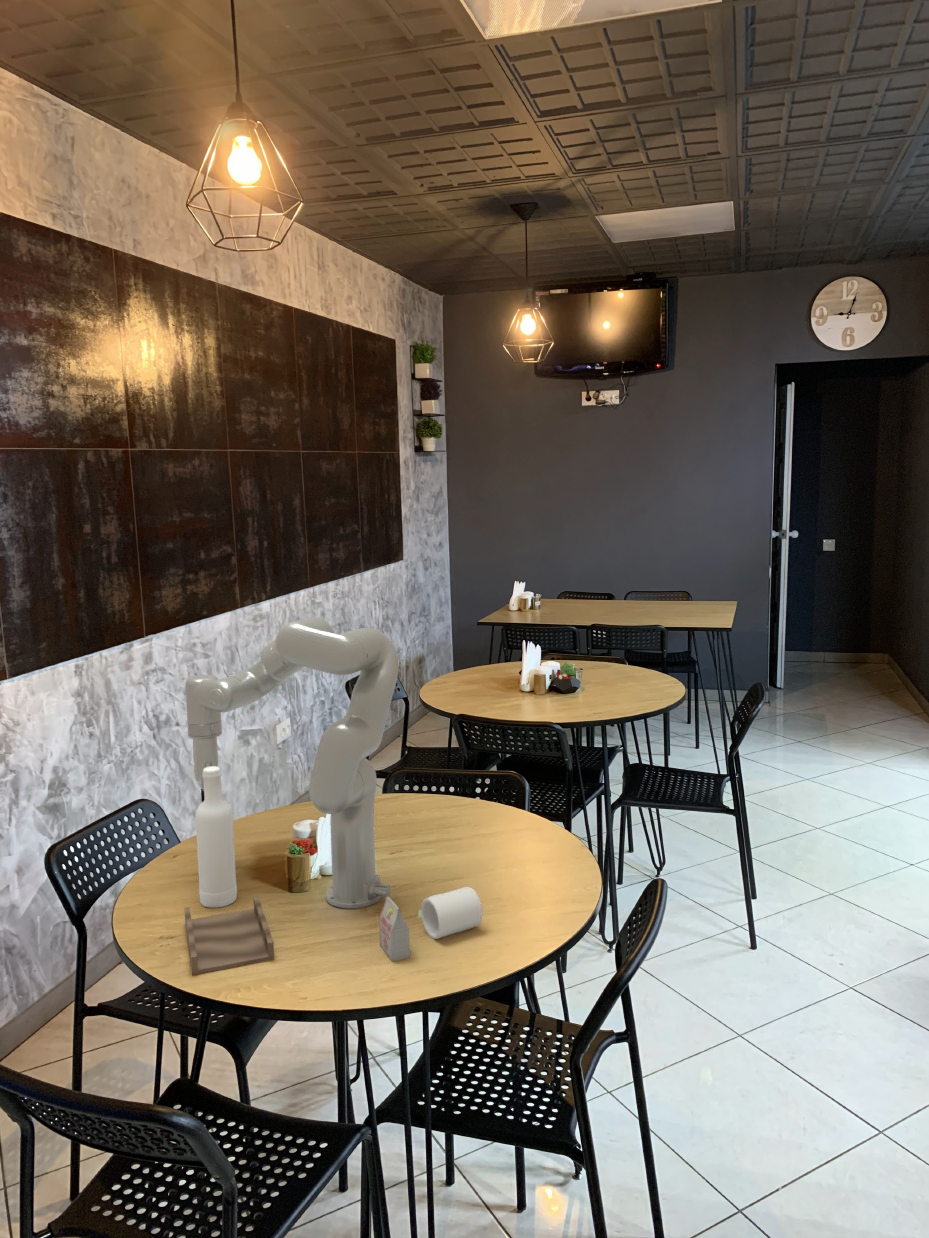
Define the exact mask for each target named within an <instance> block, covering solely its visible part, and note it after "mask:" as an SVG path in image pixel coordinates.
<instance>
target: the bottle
mask: <svg viewBox="0 0 929 1238" xmlns="http://www.w3.org/2000/svg"><path fill="white" fill-rule="evenodd" d="M203 779H204V798H205V800H204V801H203V802H202V801H201V803H200V804H199V805H198V807H197V810H196V814H195V829H196V831H195V833H196V848H197V868H198V881H199V882H198V885H199V887H198V893H199V894H198V895H199V902H200V904H201V905H202V906H203V907H206V908H210V909H211V908H212V909H215V908H216V909H217V908H223V907H226V906H229V905H232V904H233V903H234V902H235V901H236V900H237V897H238V895H237V894H238V893H237V892H238V887H237V877H236V874H237V873H236V871H237V870H236V859H235V858H236V857H235V856H236V855H235V854H236V853H235V836H234V835H235V834H234V817H233V810H232V808H231V806H230V804H229V802H227V800H225V799H224V798H223V794H222V772H221V768H220V766H218V767H217V766H210V767H206V768H204V770H203Z"/></svg>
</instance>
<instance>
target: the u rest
mask: <svg viewBox="0 0 929 1238" xmlns="http://www.w3.org/2000/svg"><path fill="white" fill-rule="evenodd" d="M252 899H253V900H252V901H253V908H249V909H244V910H242V909H241V910H237V911H233V912H232V911H231V912H225V913H220V914H215V915H214V914H212V915H208V916H202V917H196V918H192V915H191V908H190V907H184V922H185V930H186V937H187V945H188V953H189V960H190V967H191V975H192V976H195V975H200V974H206V973H212V972H217V971H221V970H227V969H231V968H238V967H243V966H248V965H254V964H258V963H264V962H267V961H275V947H274V946H275V945H274V944H275V942H274V940H273V937H272V934H271V930H270V927H269V925H268V922H267V919H266V916H265V912H264V909H263V906H262V904H261V901H260V898H259V895H254V896H252Z"/></svg>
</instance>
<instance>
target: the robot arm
mask: <svg viewBox="0 0 929 1238" xmlns="http://www.w3.org/2000/svg"><path fill="white" fill-rule="evenodd" d="M259 657H260V660H259V661H257V662H255V664H253V665H251V666H250V667H248V668H246V669H245V670H244V671H241V672H239V673H235V674H232V675H229V676H226V677H223V678H218V676H215V675H213V674H197V675H192V676H190V677H188V678H187V679H186V681H185V683H184V685H185V686H184V687H185V704H186V705H185V706H186V721H187V722H186V723H187V734H188V735H187V738H189V739H192V756H193V757H192V758H193V774H194V777H195V781H197V782H199V781H200V783H201V788H200V794H201V795H200V796H201V798H200V799H201V803H202V802H203V801H204V800H205V798H204V779H203V770H204V768H206V767H210V766H217V767H219V753H218V752H219V751H218V750H219V749H218V737H219V736H221V735H222V734H223V726H222V713H228V712H231V711H234V710H237V709H240V708H242V707H244V706H247V705H250V704H253V703H255V702H257V701H259V700H260V699H262V698H263V697H264V696H267V695H268V694H269V693H270V692H273V690H275V689H277V688H278V687H279V686H280V685H282V684H283V683H284V682H285V681H287V679H288V678H290V677H291V676H292V675H294V674H296V673H297V672H299V671H300V670H301V669H303V668H308V669H311V670H314V671H315V670H316V671H319V672H323V673H326V674H331V675H336V676H349V675H352V674H355V673H357V672H360V673H359V676H358V678H357V680H356V683H355V684H354V687H353V690H352V692H351V696H350V701H349V705H348V707H347V712H346V714H345V715H344V716H343V717H342V718H341V719H339V720H336V721H334V722H333V723H331V724H330V725H329V726H328V727H327V728H326V729H325V730H324V732H323V734H322V736H321V738H320V740H319V743H318V747H317V752H316V754H315V755H316V756H315V759H314V763H313V767H312V772H311V776H310V780H309V781H310V782H309V785H308V786H309V787H308V788H309V789H308V790H309V797H310V801H311V803H312V804H313V806H314V807H315V809H317V810H318V811H319V812H321V813H323V814H326V815H330V824H329V825H330V848H331V849H330V853H331V877H332V881H331V882H332V885H331V886H330V887H329V888H328V889H327V890H326V892H325V899H326V902H327V903H328V904H330V905H331V906H333V907H337V908H341V909H360V908H365V907H369V906H372V905H373V904H377V903H378V902H379V901H380V900H382V898H386V896H387V897H388V896H389V897H390V895H391V884H389V883H382V881H381V875H379V874H376V851H375V850H376V846H375V800H376V793H377V772H376V770H375V767H374V765H373V763H371V761H370V760H369V759H367V757H368V756H370V755H372V754H373V753H374V752H376V751H377V750H378V748H379V747H380V745H381V743H382V741H383V735H384V731H385V728H386V723H387V719H388V717H389V713H390V712H389V711H390V708H391V703H392V700H393V695H394V692H395V689H396V686H397V680H398V676H399V670H400V669H399V667H400V666H399V665H400V664H399V663H400V662H399V656H398V652H397V650H396V647H395V646H394V643H393V642H392V641H391V639H390V638H389V637H388V636H387V635H386V634H385V633H384V632H382V631H381V630H378V629H377V628H373V627H361V628H357V629H352V630H350V631H346V632H343V633H334V630H333V627H332V626H331V624H330V623H329V622H327V621H326V620H325V619H323V618H320V617H307V618H304V619H303V618H302V619H297V620H295V621H291V622H288V623H287V624H284V625H283V626H282V627H280V629H279V630H278V632H277V634H276V637H275V639H274V640H272V641H271V642H270V643H268V644H266V645H265V646H264V647H263V648H262V649H261V652H260V656H259Z"/></svg>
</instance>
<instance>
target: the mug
mask: <svg viewBox="0 0 929 1238" xmlns="http://www.w3.org/2000/svg"><path fill="white" fill-rule="evenodd" d="M482 906H483V905H482V902H481V900H480V897H479V895H478V893H477V892H476V891H475V889H473V888H472V887H470V886H464V887H461V888H458V889H454V890H451V891H447V892H444V893H438V894H434V895H433V894H432V895H431V896H429V897H425V898H424V899H423V900H422V902H421V907H420V916H421V922H422V924H423V927H424V930H425V932H426V933H427V935H428V936H429V937H430V938H432V939H434V940H438V939H441V938H444V937H447V936H450V935H454V934H457V933H460V932H463V931H467V930H469V929H473V928H476V927H479V926H480V925H481V923H482V921H483V913H484V912H483V907H482ZM479 924H480V925H479ZM477 925H478V926H477ZM474 926H475V927H474ZM471 927H472V928H471Z"/></svg>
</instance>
